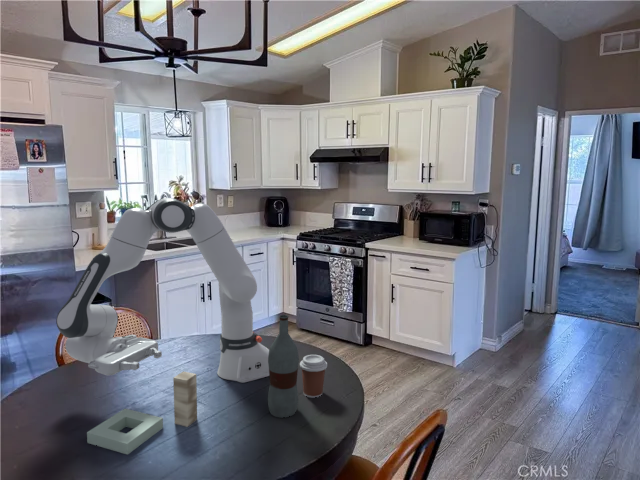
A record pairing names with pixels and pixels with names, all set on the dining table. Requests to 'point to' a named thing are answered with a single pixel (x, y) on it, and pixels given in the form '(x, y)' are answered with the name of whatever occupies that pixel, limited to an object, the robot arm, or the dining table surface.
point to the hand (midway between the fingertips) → (149, 360)
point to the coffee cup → (313, 375)
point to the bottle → (283, 373)
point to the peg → (185, 398)
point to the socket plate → (123, 442)
